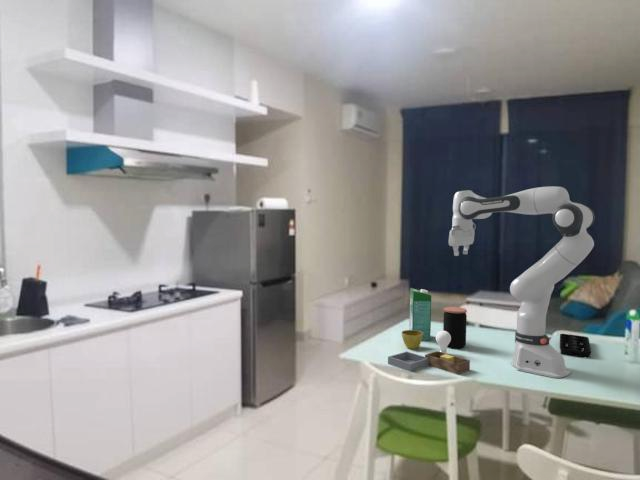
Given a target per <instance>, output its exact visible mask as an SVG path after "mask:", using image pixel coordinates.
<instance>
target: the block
mask: <svg viewBox="0 0 640 480" xmlns="http://www.w3.org/2000/svg"><path fill="white" fill-rule="evenodd" d="M447 354H448V353H446V354H445V355H442V356H440V359H443V360H446V361H450V362H453V363H454V356H455V355H453V356H450V355H451V354H449V355H447Z"/></svg>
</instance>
